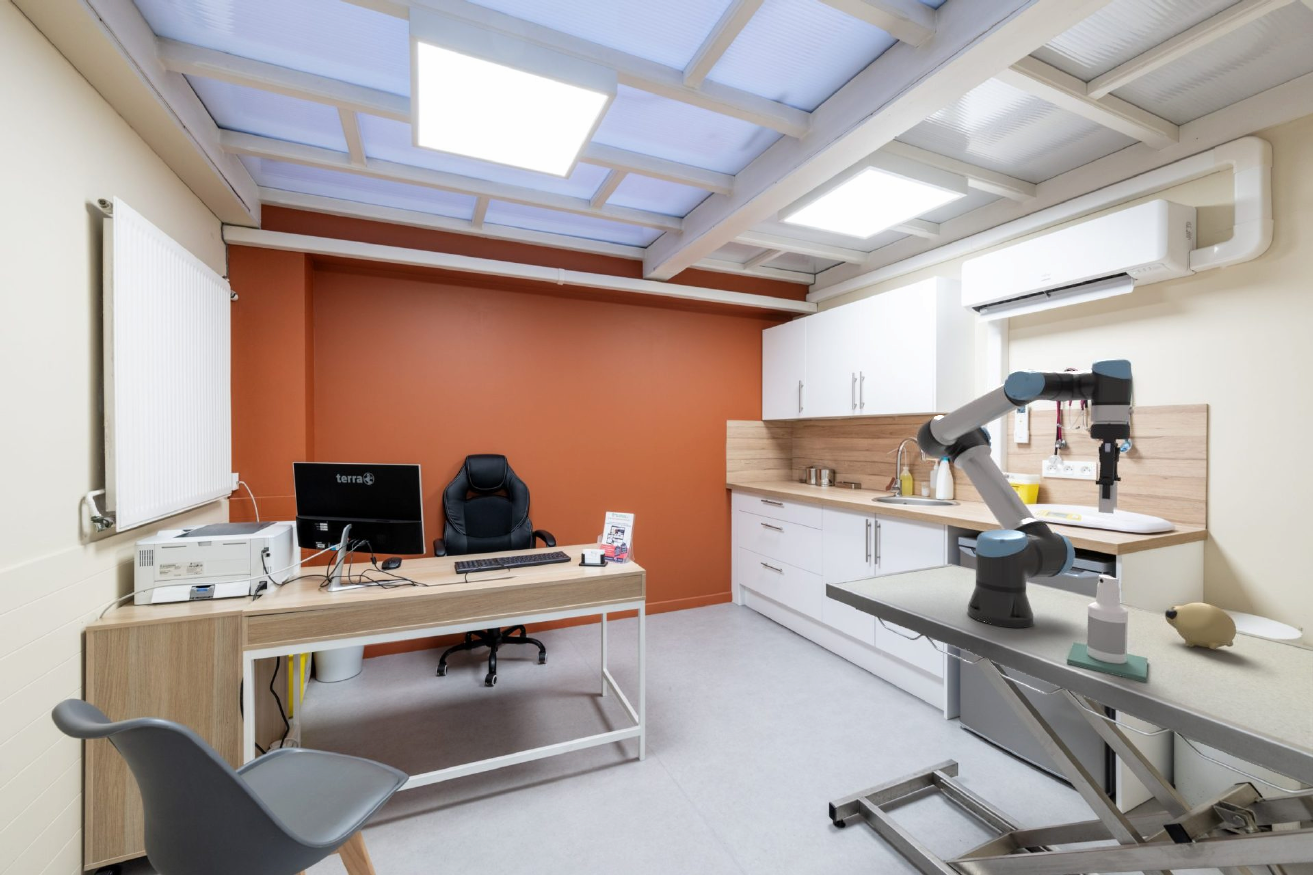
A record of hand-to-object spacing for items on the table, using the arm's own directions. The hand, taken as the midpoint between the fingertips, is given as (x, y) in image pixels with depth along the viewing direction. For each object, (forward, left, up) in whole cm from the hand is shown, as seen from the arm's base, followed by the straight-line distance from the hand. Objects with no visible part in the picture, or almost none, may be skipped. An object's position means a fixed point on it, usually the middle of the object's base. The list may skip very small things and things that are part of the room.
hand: (1107, 509), depth 135 cm
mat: (+1, -19, -32) cm, 37 cm away
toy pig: (+17, +9, -32) cm, 37 cm away
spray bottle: (+1, -18, -31) cm, 36 cm away
